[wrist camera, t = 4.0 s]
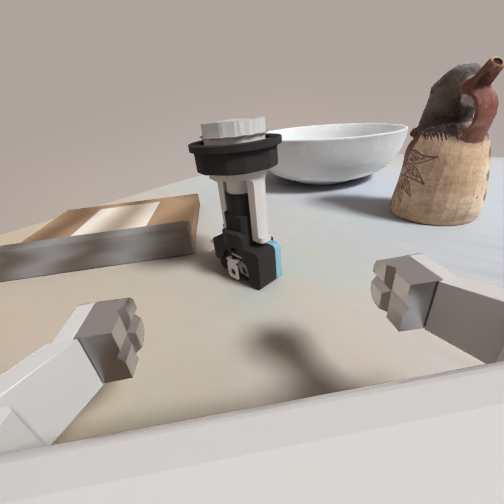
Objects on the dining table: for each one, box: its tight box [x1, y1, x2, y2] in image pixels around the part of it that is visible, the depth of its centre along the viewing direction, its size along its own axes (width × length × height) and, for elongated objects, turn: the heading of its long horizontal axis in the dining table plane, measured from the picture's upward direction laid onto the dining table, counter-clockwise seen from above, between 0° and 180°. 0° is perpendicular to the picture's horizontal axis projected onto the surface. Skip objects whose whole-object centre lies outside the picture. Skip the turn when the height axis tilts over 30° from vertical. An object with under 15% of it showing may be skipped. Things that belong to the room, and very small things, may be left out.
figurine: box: [391, 57, 504, 226], centre depth 23 cm, size 7×7×12 cm
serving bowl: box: [266, 123, 408, 185], centre depth 39 cm, size 21×21×7 cm
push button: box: [188, 117, 282, 290], centre depth 17 cm, size 7×5×10 cm
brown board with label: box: [0, 194, 200, 282], centre depth 27 cm, size 16×14×2 cm
